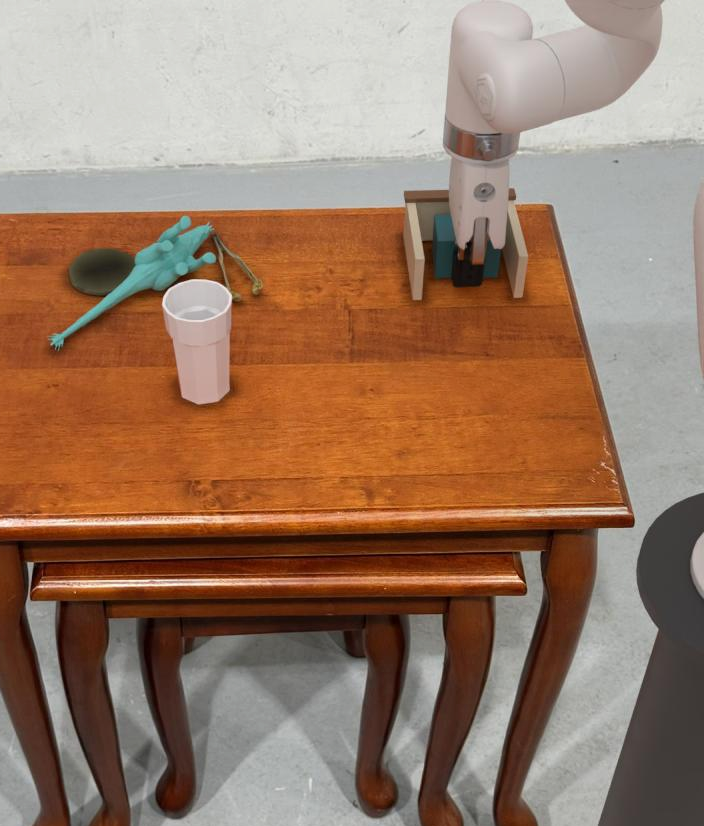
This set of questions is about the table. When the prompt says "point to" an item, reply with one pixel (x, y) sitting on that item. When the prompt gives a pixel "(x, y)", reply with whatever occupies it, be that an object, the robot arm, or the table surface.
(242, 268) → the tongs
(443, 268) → the box
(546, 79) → the robot arm
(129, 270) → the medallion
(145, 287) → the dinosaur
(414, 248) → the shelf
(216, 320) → the cup
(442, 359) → the table surface
